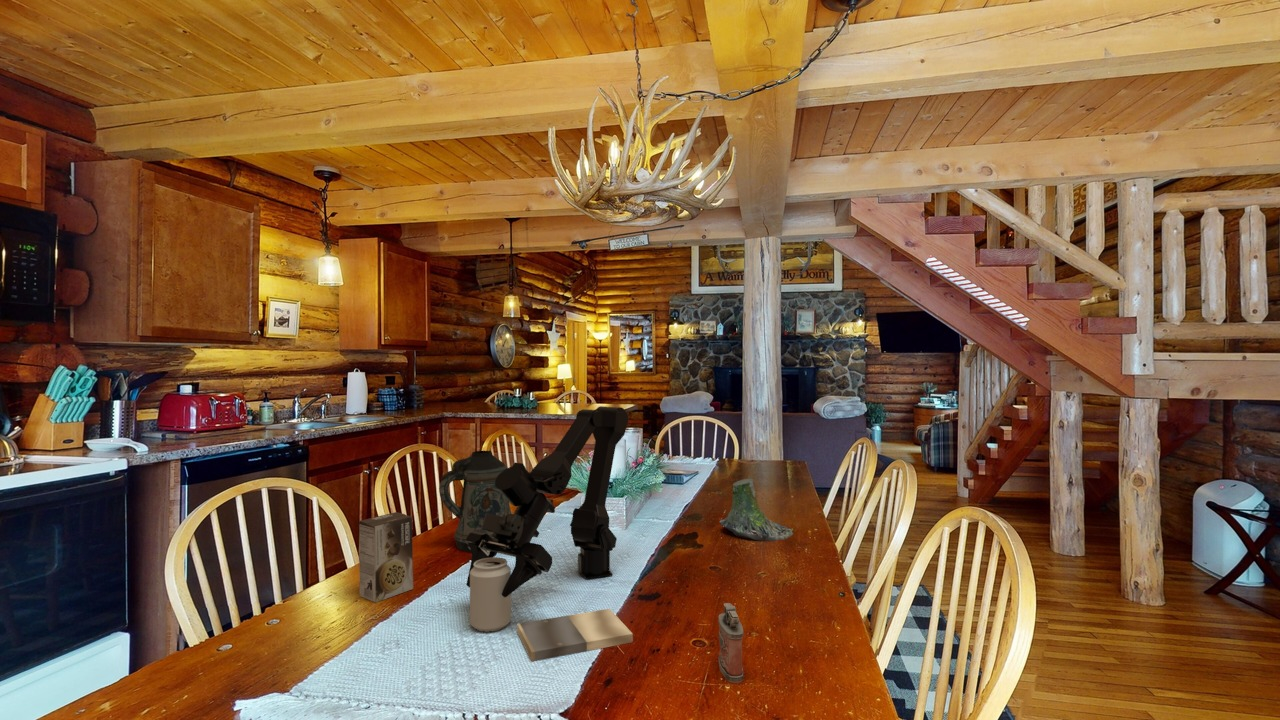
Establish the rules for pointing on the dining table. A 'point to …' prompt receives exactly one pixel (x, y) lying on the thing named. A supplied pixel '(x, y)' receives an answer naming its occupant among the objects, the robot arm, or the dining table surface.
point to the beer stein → (475, 494)
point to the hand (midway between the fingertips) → (485, 591)
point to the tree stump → (751, 516)
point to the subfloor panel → (573, 634)
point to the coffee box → (385, 556)
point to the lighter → (730, 644)
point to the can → (489, 594)
